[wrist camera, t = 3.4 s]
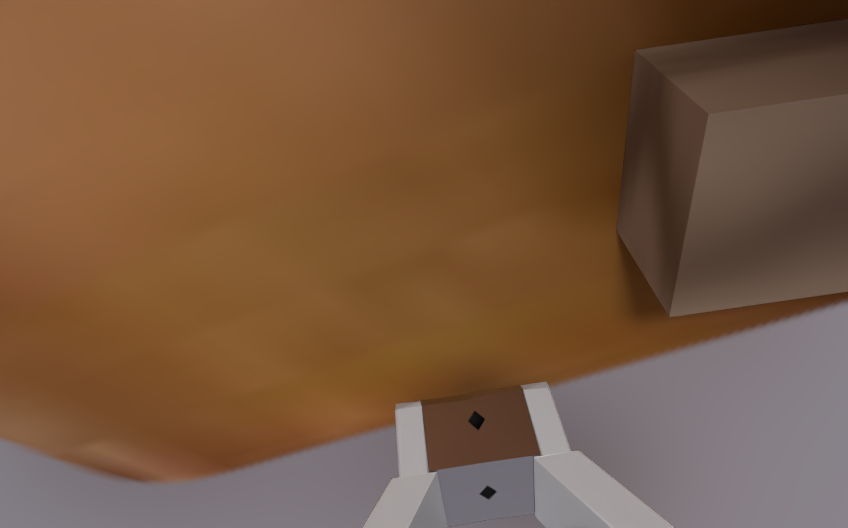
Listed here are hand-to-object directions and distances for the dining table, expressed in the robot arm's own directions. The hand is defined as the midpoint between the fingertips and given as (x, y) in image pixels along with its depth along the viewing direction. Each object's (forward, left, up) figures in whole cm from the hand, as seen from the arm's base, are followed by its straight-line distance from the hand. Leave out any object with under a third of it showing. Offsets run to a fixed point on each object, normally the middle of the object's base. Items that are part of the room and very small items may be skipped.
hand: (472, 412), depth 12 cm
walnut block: (-1, +11, -9) cm, 14 cm away
